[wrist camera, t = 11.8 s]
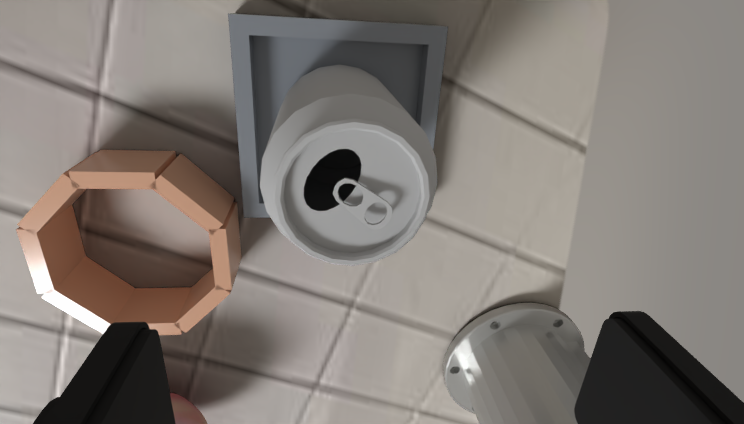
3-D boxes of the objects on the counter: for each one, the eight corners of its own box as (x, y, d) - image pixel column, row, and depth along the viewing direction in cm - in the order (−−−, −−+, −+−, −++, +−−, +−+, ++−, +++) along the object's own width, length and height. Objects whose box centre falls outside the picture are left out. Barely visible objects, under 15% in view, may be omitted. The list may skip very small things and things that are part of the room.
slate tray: (439, 25, 26) (448, 26, 24) (418, 205, 31) (424, 217, 29) (234, 13, 24) (228, 13, 23) (248, 204, 30) (244, 217, 28)
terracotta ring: (232, 152, 28) (220, 173, 24) (244, 297, 33) (236, 332, 29) (40, 148, 26) (-4, 170, 23) (82, 300, 31) (52, 338, 28)
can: (324, 35, 25) (330, 56, 14) (420, 111, 28) (487, 178, 17) (255, 138, 27) (216, 224, 16) (351, 199, 30) (372, 309, 19)
